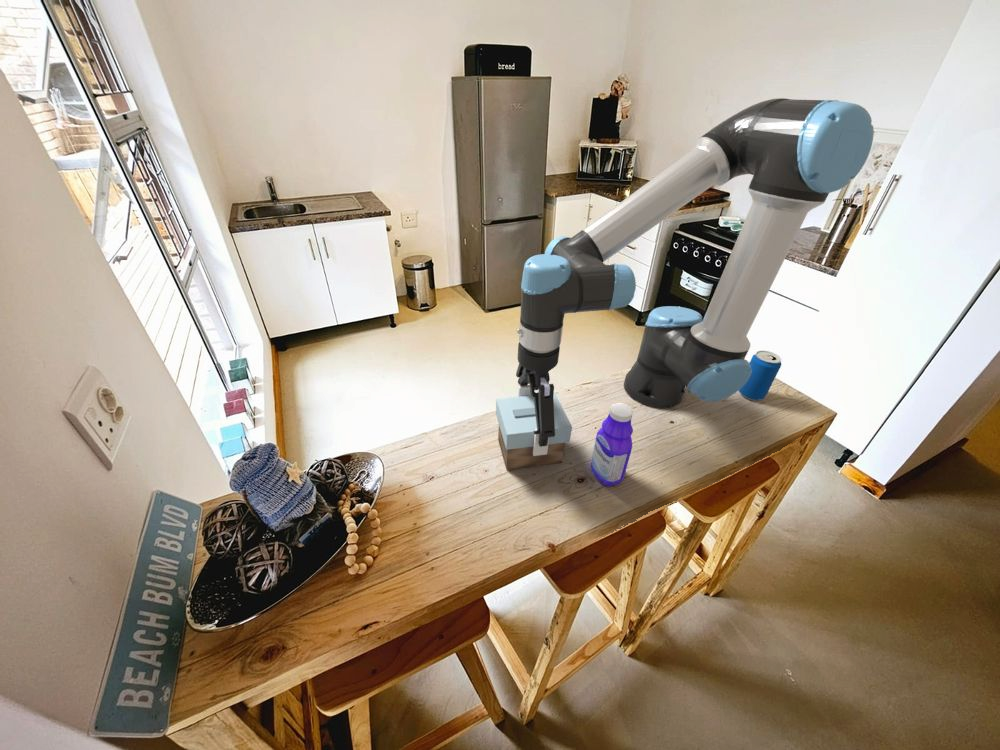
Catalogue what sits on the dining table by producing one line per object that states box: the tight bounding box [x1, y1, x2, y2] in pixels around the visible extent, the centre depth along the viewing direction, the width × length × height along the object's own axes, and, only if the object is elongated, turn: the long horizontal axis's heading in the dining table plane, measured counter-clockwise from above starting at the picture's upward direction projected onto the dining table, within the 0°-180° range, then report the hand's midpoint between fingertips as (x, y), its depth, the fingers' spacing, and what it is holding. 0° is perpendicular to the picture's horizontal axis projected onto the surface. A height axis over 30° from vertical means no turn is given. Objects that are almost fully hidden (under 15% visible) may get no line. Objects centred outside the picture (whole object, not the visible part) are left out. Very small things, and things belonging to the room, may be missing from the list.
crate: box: [497, 425, 566, 471], centre depth 88 cm, size 12×9×7 cm
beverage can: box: [738, 350, 782, 402], centre depth 106 cm, size 6×6×12 cm
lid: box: [495, 392, 573, 450], centre depth 85 cm, size 13×11×4 cm
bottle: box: [590, 402, 634, 487], centre depth 80 cm, size 7×6×17 cm
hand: (531, 430), depth 87 cm, fingers open, 13 cm apart
